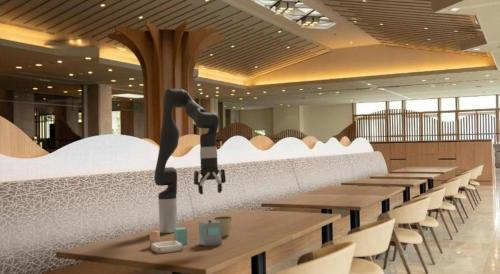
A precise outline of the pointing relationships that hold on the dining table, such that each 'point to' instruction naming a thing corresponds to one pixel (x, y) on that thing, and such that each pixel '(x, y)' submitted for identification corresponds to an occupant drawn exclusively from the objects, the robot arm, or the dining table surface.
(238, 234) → the dining table surface
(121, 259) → the dining table surface
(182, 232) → the teal block
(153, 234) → the peach capsule
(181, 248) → the tray
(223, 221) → the flower pot
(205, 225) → the box
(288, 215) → the dining table surface
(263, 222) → the dining table surface
